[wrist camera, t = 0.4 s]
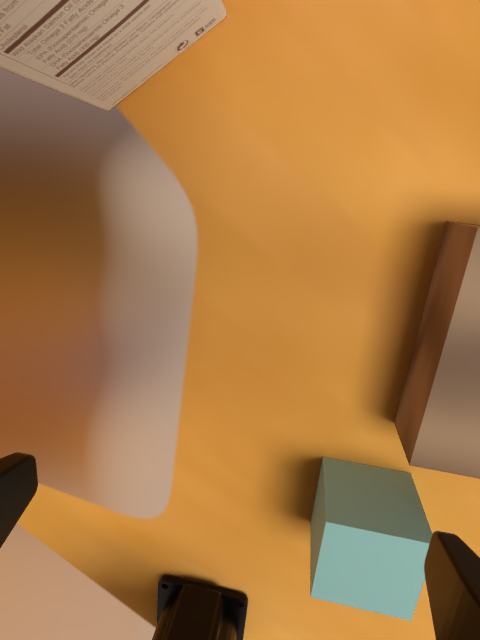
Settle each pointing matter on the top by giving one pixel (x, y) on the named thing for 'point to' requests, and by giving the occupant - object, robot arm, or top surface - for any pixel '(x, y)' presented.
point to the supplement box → (99, 42)
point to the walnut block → (446, 363)
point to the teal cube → (368, 538)
